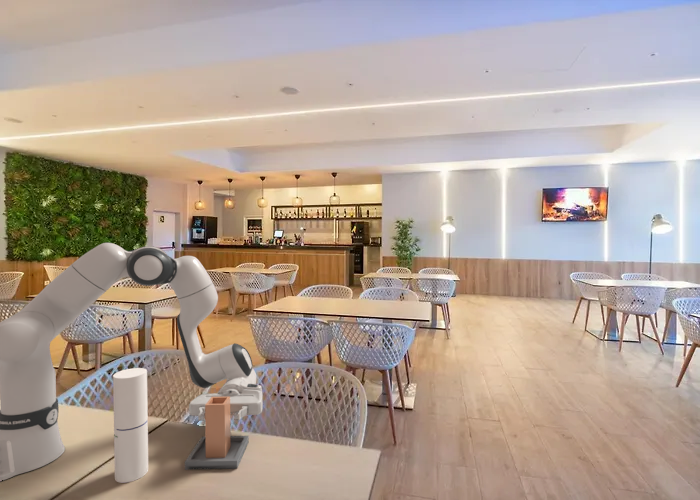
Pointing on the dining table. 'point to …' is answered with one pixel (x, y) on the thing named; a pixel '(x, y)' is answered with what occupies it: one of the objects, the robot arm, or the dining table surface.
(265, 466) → the dining table surface
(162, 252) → the robot arm
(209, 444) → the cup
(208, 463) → the tray
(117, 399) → the cylindrical container
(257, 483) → the dining table surface
